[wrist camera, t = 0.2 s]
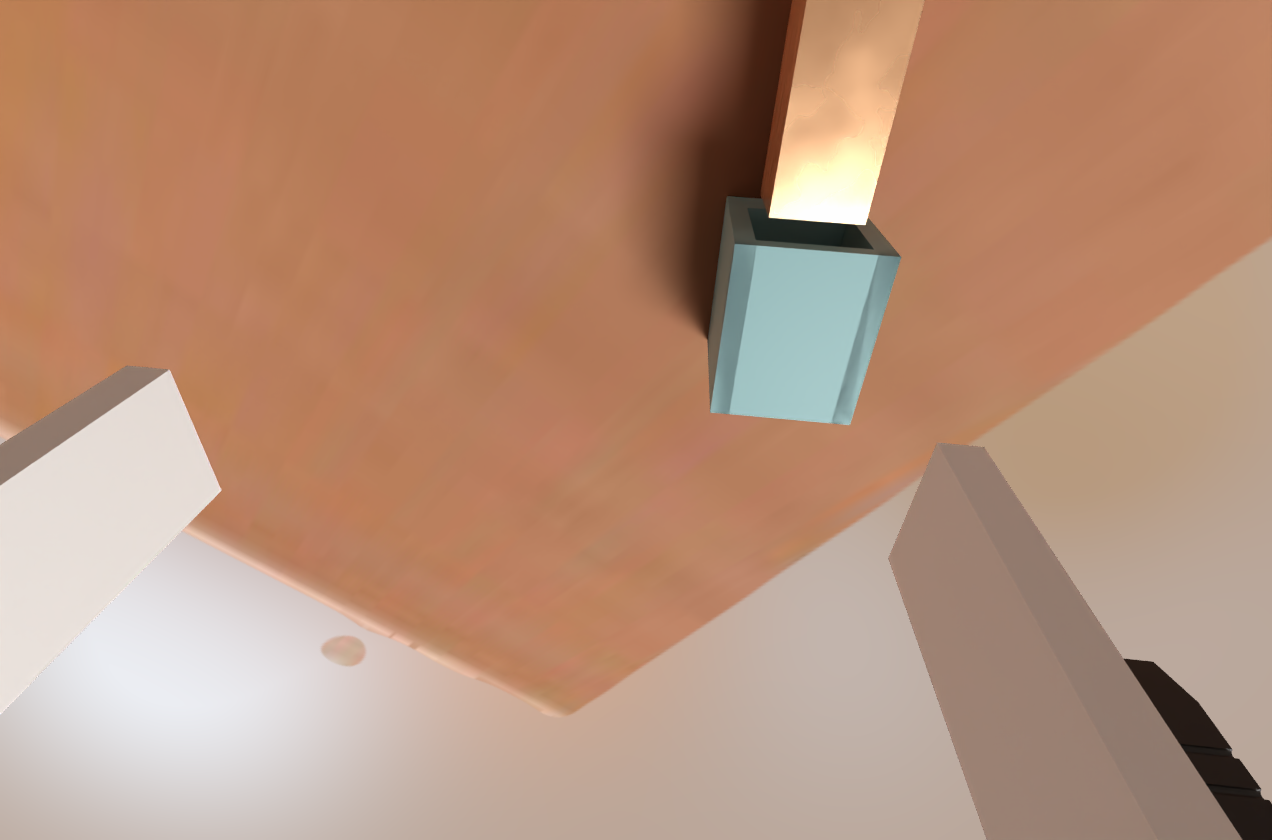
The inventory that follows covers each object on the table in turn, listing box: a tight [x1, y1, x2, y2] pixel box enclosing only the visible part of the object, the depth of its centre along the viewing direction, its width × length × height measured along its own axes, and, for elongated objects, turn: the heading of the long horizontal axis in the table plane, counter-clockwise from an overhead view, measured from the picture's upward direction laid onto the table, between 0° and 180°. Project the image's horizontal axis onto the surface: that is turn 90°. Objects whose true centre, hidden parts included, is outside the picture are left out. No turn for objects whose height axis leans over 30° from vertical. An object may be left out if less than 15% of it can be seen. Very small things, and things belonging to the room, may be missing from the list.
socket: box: [708, 196, 901, 425], centre depth 33 cm, size 9×7×9 cm
